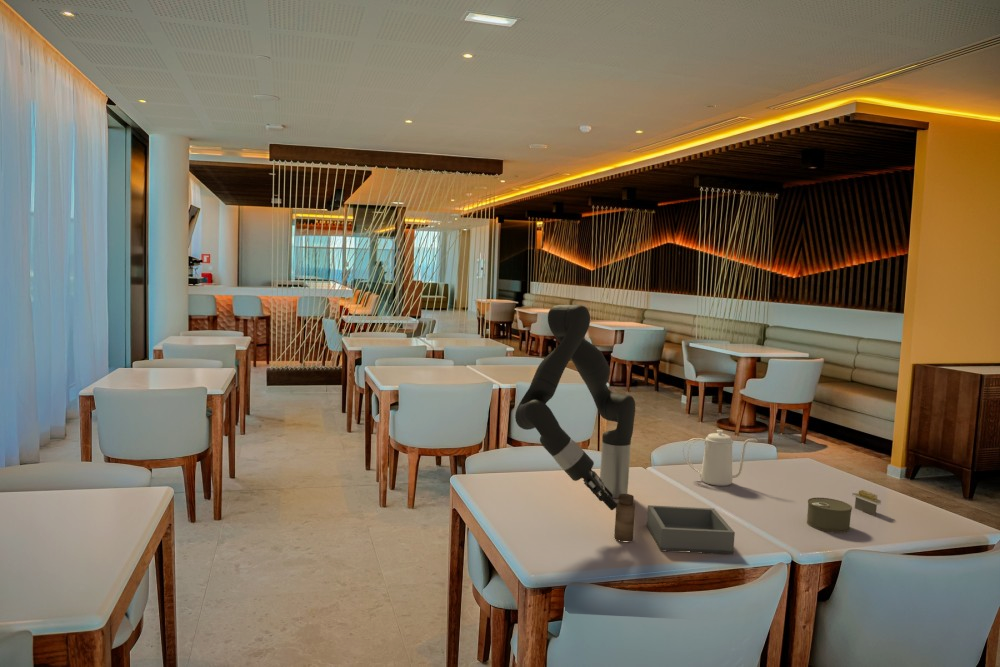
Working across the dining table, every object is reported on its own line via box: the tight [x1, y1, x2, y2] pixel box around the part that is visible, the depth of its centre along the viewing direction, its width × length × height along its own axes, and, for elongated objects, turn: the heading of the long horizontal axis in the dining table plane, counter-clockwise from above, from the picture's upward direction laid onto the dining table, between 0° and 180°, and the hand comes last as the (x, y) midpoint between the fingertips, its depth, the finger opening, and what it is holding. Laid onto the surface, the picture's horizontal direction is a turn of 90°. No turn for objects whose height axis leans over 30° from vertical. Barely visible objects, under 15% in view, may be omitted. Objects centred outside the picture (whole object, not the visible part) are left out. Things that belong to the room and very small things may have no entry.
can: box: [806, 497, 853, 534], centre depth 215 cm, size 12×12×7 cm
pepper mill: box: [613, 493, 636, 542], centre depth 196 cm, size 5×5×12 cm
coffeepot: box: [682, 429, 759, 487], centre depth 255 cm, size 11×25×19 cm, turn 71°
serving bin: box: [646, 504, 736, 555], centre depth 198 cm, size 19×19×6 cm
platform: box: [851, 489, 882, 517], centre depth 230 cm, size 12×18×7 cm, turn 21°
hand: (612, 502), depth 196 cm, fingers open, 8 cm apart
